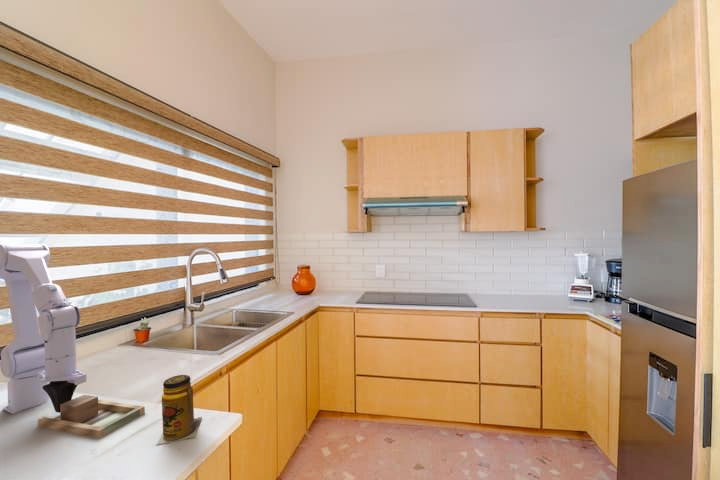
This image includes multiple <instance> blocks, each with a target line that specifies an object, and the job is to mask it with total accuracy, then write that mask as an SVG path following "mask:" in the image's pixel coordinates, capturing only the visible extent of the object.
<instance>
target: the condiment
mask: <svg viewBox="0 0 720 480" xmlns="http://www.w3.org/2000/svg"><path fill="white" fill-rule="evenodd" d="M162 385H163V389H162V391H163V392H162V395H161V408H162V409H161V411H162V412H161V413H162V414H161V416H162V418H161V419H162V434H161V436H160V437H159V439H158V441H157V443H156V445H161V444H168V443H173V442H177V441H182V440H186V439H190V438H196V435H197V433H198V429H199V426H200V424H201V421H202V417H203V416H200V417H196V418H195V413H194V390H193V389H194V388H193V387H192V383H191V377H190V375H189V374H188V375H187V374H177V375H173V376H172V377H168V378H167V379H165V380H164V381H163V384H162Z"/></svg>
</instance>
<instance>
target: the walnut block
mask: <svg viewBox="0 0 720 480" xmlns="http://www.w3.org/2000/svg"><path fill="white" fill-rule="evenodd" d="M98 400H99V396H96V395H89V394H82V395H79V396H78V397H75V398H72V399H71V400H70V401H68V402H65V403H63V404H60V413H59V414H60V416H61V420H64V421H70V422H76V423H79V422H81V421H83V420H85V419H87V418H89V417H91V416H93V415H95V414H97V413H98Z"/></svg>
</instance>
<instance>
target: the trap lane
mask: <svg viewBox="0 0 720 480" xmlns="http://www.w3.org/2000/svg"><path fill="white" fill-rule="evenodd" d="M143 414H146V413H145V406H144V405H138V404H137V405H136V404H129V403H122V402H117V401H116V402H115V401H107V400H99V399H98V413H97V414H95V415H93V416H91V417H89V418H87V419H85V420H83V421H81V422H79V423H76V422H70V421H64V420H61V415H60V416H58V417H56V418H53V417H46V416H44V417H43V416H42V417H41V418H39V419H37V428H38V427H39V428H45V429H50V430H54V431H60V432H66V433H70V434H71V433H72V434H75V435H81V436H87V437H92V438H97V439H100V438H102V437H103V436H107V435H108V434H109V433H111V432H113V431H114V430H117V429H118V428H120V427H122V426H123V425H125V424H128V423H129V422H131V421H133V420H134V419H136V418H138V417H140V416H141V415H143Z"/></svg>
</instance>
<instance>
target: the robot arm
mask: <svg viewBox="0 0 720 480" xmlns="http://www.w3.org/2000/svg"><path fill="white" fill-rule="evenodd" d="M50 259H51V251H50V248H49V247H48V246H47V245H46V244H44V243H40V244H0V280H1V279H2V280H4V283H5V287H6V292H7V297H8V304H9V305H8V306H9V310H10V317H11V318H10V319H11V325H12V331H13V336H14V337H13V338H14V339H13V340H12V341H11V342H10V343H8V344H7V345H5V347H4V348H3V349H2V350H1V351H0V371H1V374H2V376H3V377H4V378H6V379H9V380H8V381H7V382H8V383H7V405H6V406H3V407H2V410H5V412H7V413H10V414H12V415H13V414H16V413H18V412H21V411H24V410H25V409H26V410H27V409H31V408H33V407H37V406H39V405H40V406H41V405H42V404H44V403H47V402H48V401H51V404H52V406H53V409H54V411H55V413H59V414H61V413H60V404H63V403H65V402H68V401H70V400H72V399H73V395H74V392H75V391H76V389H77V386H78V385H81V384H83V383H86V382H87V373H83V372H82V371H80V370H79V369H77V342H76V338H77V335H76V327H78V326H79V325H80V322H81V313H80V309H79V307H78V306H77V305H76V304H73V302H72V301H70V302H69V300H68V299H67V296H66V295H65V293H64V292H63V290H62V287H61V286H60V285H59V284H56V283H53V281H52V278H51V275H50V272H49V269H48V265H49V261H50ZM37 311H38V315H39V316H38V315H37Z"/></svg>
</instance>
